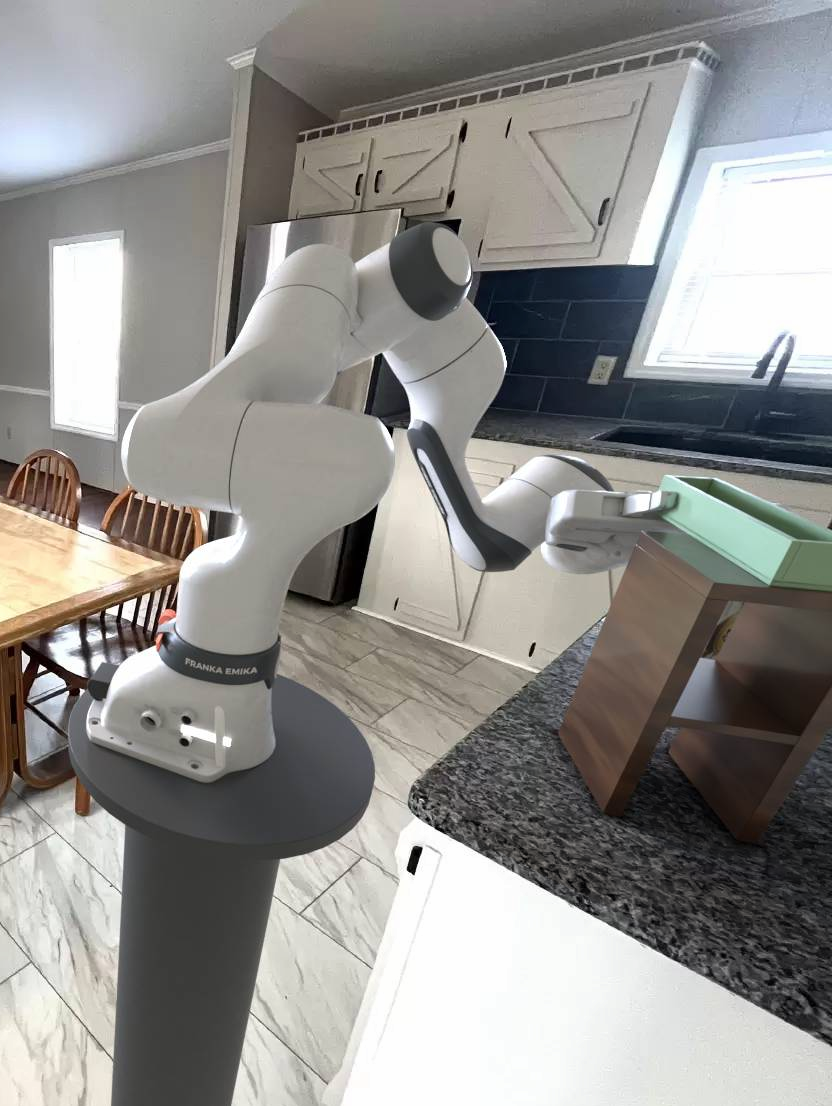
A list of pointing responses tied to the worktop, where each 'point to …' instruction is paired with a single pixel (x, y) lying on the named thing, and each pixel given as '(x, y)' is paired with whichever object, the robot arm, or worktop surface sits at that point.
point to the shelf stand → (703, 683)
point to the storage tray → (752, 532)
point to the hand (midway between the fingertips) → (704, 500)
